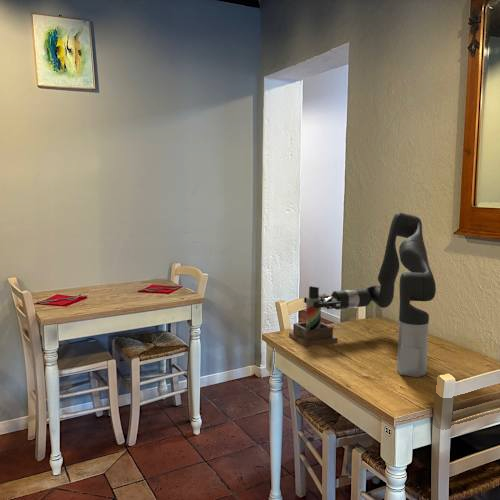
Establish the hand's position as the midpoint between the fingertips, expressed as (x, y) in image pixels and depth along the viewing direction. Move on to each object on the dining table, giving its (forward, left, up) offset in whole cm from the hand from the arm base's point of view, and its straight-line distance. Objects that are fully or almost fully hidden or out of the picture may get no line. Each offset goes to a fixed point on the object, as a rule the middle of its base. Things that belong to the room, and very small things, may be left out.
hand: (308, 302), depth 192 cm
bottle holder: (+1, -1, -15) cm, 15 cm away
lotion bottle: (+1, -1, -14) cm, 14 cm away
